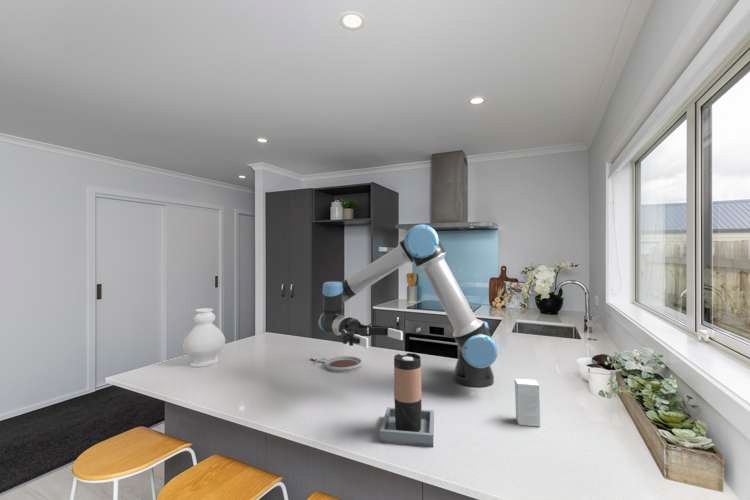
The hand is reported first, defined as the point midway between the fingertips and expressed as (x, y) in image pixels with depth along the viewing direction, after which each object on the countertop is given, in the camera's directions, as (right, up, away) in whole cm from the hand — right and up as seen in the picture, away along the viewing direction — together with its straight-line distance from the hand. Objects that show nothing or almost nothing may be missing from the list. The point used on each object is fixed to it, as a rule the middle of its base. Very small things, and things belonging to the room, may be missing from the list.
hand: (385, 339), depth 104 cm
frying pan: (-22, -25, +50) cm, 60 cm away
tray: (+6, -24, -8) cm, 26 cm away
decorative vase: (-83, -26, +55) cm, 103 cm away
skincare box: (+41, -23, -4) cm, 48 cm away
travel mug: (+6, -23, -8) cm, 25 cm away
